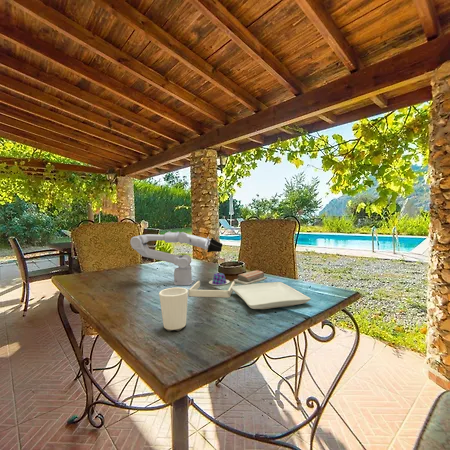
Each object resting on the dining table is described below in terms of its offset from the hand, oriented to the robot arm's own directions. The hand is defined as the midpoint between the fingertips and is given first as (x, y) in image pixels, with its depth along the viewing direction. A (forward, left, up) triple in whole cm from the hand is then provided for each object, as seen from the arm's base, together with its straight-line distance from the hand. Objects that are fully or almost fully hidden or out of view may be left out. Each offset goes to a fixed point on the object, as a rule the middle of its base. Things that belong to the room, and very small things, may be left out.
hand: (221, 247), depth 145 cm
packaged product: (+15, +6, -20) cm, 26 cm away
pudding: (-2, 0, -20) cm, 20 cm away
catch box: (-2, -16, -20) cm, 26 cm away
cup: (-6, -58, -20) cm, 62 cm away
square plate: (+25, -27, -20) cm, 42 cm away
